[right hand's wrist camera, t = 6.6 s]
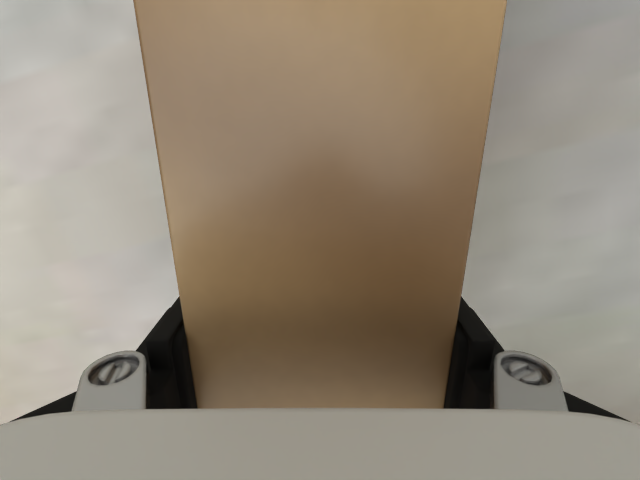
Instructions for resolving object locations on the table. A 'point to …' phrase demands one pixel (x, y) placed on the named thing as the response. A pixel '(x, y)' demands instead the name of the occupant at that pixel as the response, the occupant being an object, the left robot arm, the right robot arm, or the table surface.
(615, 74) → the table surface
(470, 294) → the table surface
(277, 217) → the tan elongated box
